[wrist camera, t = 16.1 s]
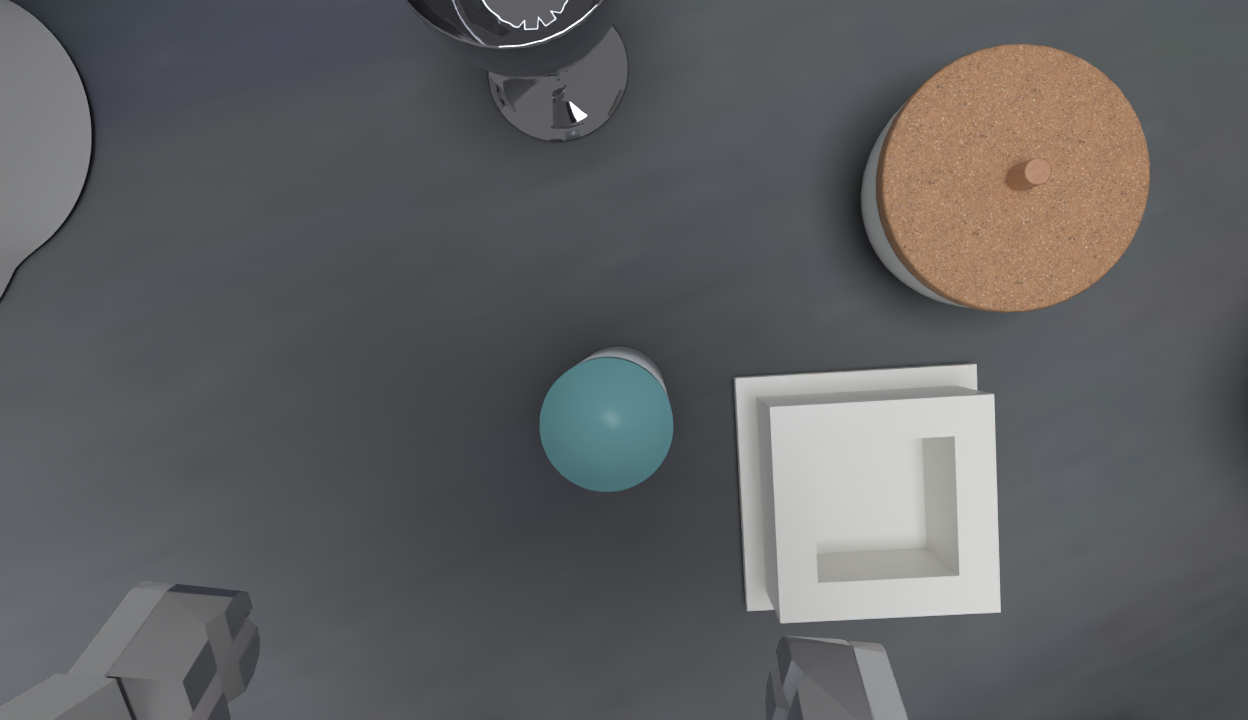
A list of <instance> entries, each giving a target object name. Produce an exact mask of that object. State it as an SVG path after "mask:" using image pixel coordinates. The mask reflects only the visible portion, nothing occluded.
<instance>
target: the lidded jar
mask: <svg viewBox="0 0 1248 720" xmlns="http://www.w3.org/2000/svg"><path fill="white" fill-rule="evenodd" d="M1149 184H1150V161H1149V155H1148V149H1147V144H1146V140H1145V137H1144V134H1143V130H1142V127H1141V124H1140V121H1139V119H1138V118H1137V116H1136V114H1135V112H1134V110H1133V108H1132V106H1131V104H1130V103H1129V101H1128V100H1127V99H1126V97H1125V96H1124V95H1123V93H1122V92H1121V91H1120V89H1119V88H1118V87H1117V86H1116V85H1115V84H1114V83H1113V82H1112V81H1111V80H1110V79H1109V78H1108V77H1107V76H1106V75H1105V74H1104V73H1102V72H1101V71H1100V70H1098V69H1097V68H1095V67H1094V66H1092V65H1091V64H1089V63H1088V62H1086V61H1085V60H1083V59H1081V58H1079V57H1076V56H1074V55H1072V54H1070V53H1068V52H1065V51H1062V50H1058V49H1054V48H1051V47H1047V46H1041V45H1032V44H1009V45H999V46H995V47H990V48H985V49H981V50H979V51H976V52H973V53H971V54H968V55H965V56H963V57H961V58H959V59H957V60H955V61H954V62H952V63H950V64H948V65H947V66H945V67H943V68H942V69H940V70H939V71H938V72H937V73H935V74H934V75H933V76H932V77H930V78H929V79H928V80H927V81H925V82H924V83H923V84H922V85H921V86H920V87H919V88H918V89H917V90H916V91H915V92H914V93H913V94H912V95H911V96H910V98H909V99H908V100H907V101H906V102H905V103H904V104H903V106H902V107H901V108H900V109H899V110H898V111H897V112H896V113H895V114H894V115H893V116H892V118H891V119H890V121H889V122H888V123H887V125H886V126H885V128H884V129H883V131H882V132H881V134H880V135H879V137H878V138H877V140H876V142H875V144H874V147H873V149H872V151H871V153H870V155H869V158H868V162H867V165H866V168H865V172H864V175H863V181H862V188H861V212H862V217H863V223H864V227H865V230H866V233H867V236H868V239H869V241H870V243H871V245H872V247H873V249H874V251H875V253H876V254H877V256H878V257H879V259H880V260H881V261H882V263H883V264H884V265H885V266H886V268H887V269H888V270H889V271H890V272H891V273H892V274H893V275H894V276H896V277H897V278H898V279H899V280H900V281H901V282H903V283H904V284H906V285H907V286H909V287H910V288H912V289H913V290H915V291H916V292H918V293H920V294H922V295H924V296H926V297H929V298H931V299H933V300H936V301H939V302H943V303H946V304H950V305H953V306H957V307H964V308H973V309H976V310H982V311H991V312H1002V313H1003V312H1026V311H1032V310H1037V309H1042V308H1047V307H1050V306H1053V305H1055V304H1058V303H1061V302H1063V301H1066V300H1068V299H1070V298H1072V297H1074V296H1076V295H1078V294H1079V293H1081V292H1083V291H1085V290H1086V289H1088V288H1089V287H1090V286H1092V285H1093V284H1094V283H1096V282H1097V281H1098V280H1100V279H1101V278H1102V277H1103V276H1104V275H1105V274H1106V273H1107V272H1108V271H1109V270H1110V269H1111V268H1112V267H1113V266H1114V265H1115V264H1116V263H1117V262H1118V260H1119V259H1120V258H1121V256H1122V255H1123V253H1124V252H1125V251H1126V249H1127V248H1128V246H1129V245H1130V243H1131V241H1132V239H1133V237H1134V235H1135V233H1136V231H1137V229H1138V227H1139V225H1140V222H1141V219H1142V216H1143V213H1144V210H1145V207H1146V203H1147V197H1148V190H1149Z"/></svg>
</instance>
